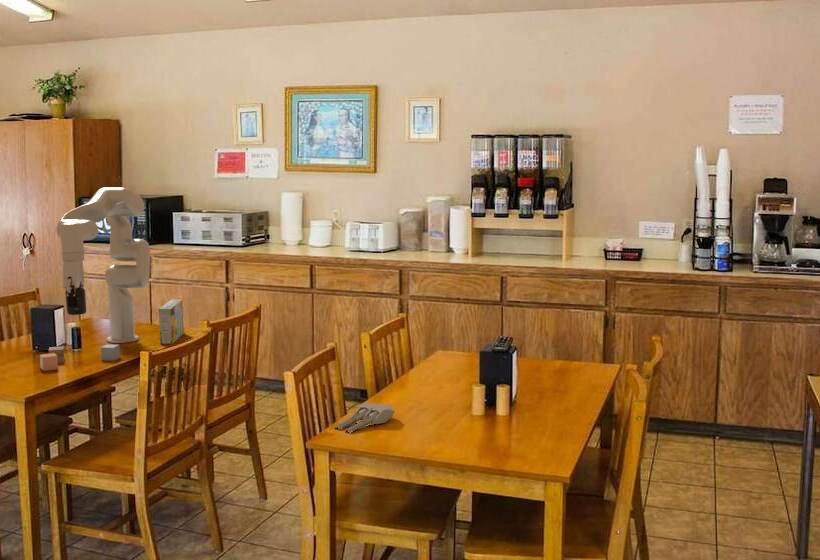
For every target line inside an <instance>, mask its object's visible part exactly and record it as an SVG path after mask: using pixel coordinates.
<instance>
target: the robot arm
mask: <svg viewBox="0 0 820 560" xmlns="http://www.w3.org/2000/svg"><path fill="white" fill-rule="evenodd" d="M144 211H145V203H144V200H143V198H142V197H141V196H140V195H139V194H138V193H136V192H135V191H133V190H131V189H129V188H126V187H114V186H113V187H107V186H106V187H101V188H99V189H98V190H97V191H96V192H95V193H94V194H93V196H91V198H90V199H89V201H88V202H87V203H84V204H83V205H80V206H78V207H76V208H73V209H71V210H69V211H67V212H66V213H64V215H63V216H61V218H60V219H59V221H58V223H57V226H56V235H57V236H58V237H59V239H60V244H61V246H60V248H61V259H62V260H61V261H62V265H63V266H62V287H63V289H65V291H66V290H67V299H68V307H77V296H76V288H78V287H79V286H80V282H81V281H82V286H81V287H82V288H84V284H85V271H84V263H83V261H85V248H84V241H92V240H94V239H96V237H97V236H98V233H99V227H98V224H97V223H100V222H101V221H104V220H105V219H107V222H108V224H109V228H110V237H109V238H110V239H109V255H110V258H111V260H113V261H115V262H129V263H131V262H133V263H135V264H112V265H110V266H108V267H107V268H106V269H105V272H104V279H105V284H106V288H107V295H108V311H109V314H108V315H109V316H108V317H109V331H110V332H109V334H110V335H109V336H107V337H106V342H107V343H108V342H109V343H111V344H125V343H132V342H135V341H138V340H139V336H138V335H137V334H135V318H134V314H135V312H134V298H133V295H132V293H131V291H130V290H129V289H143V288H146V287H148V285H149V282H150V273H151V272H150V271H151V270H150V269H151V249H150V245H149V242H148V241H147V240H145V239H143V238H133V227H132V223H131V222H130V220H129V219H128V218H127V217H139V216H141V215H142V214H143V213H144ZM71 286H74V287H71ZM73 290H74V292H73Z"/></svg>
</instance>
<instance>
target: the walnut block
mask: <svg viewBox="0 0 820 560" xmlns="http://www.w3.org/2000/svg"><path fill="white" fill-rule="evenodd" d="M64 347H65V346H52V347H51V346H49V348H48V354H51V353H55V354H56V355H57V360H58V364H59V363H65V348H64Z"/></svg>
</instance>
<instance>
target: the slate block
mask: <svg viewBox="0 0 820 560" xmlns="http://www.w3.org/2000/svg"><path fill="white" fill-rule="evenodd" d="M120 348H121V347H120V344H104V345H103V346H101V347H100V359H101V361H116V360H118V359H119V358H121V354H120V353H121V351H120Z"/></svg>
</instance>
